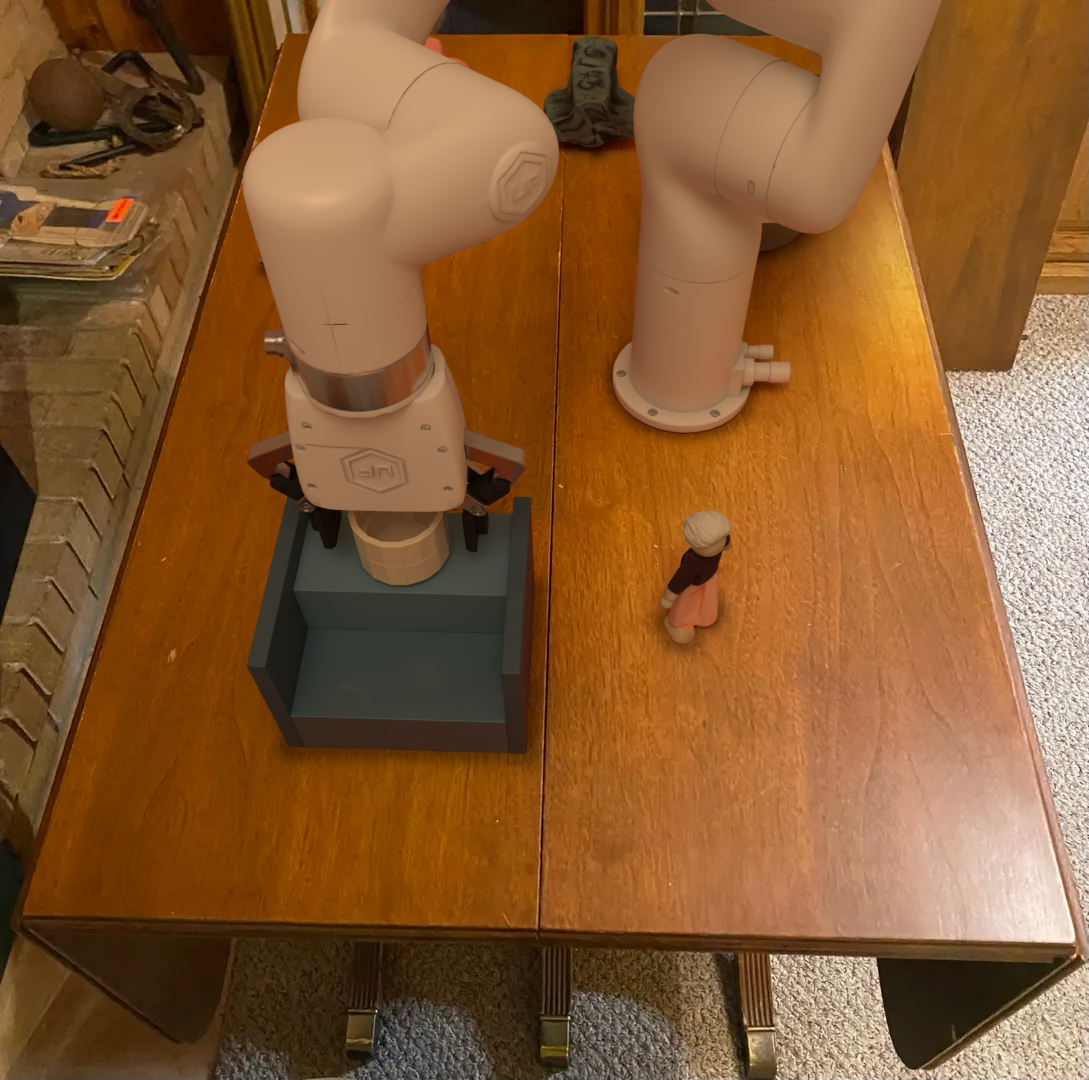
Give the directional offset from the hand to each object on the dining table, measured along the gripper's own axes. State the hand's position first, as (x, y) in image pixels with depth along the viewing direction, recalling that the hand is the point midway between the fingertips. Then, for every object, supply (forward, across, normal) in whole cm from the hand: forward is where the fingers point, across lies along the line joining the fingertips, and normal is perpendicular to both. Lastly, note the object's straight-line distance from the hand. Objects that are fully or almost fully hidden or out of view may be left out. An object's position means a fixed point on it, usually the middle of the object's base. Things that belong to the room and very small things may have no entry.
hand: (403, 533), depth 70 cm
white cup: (+2, 0, 0) cm, 2 cm away
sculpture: (+12, +12, +68) cm, 71 cm away
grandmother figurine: (+12, +21, +1) cm, 24 cm away
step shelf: (+12, 0, -4) cm, 13 cm away
